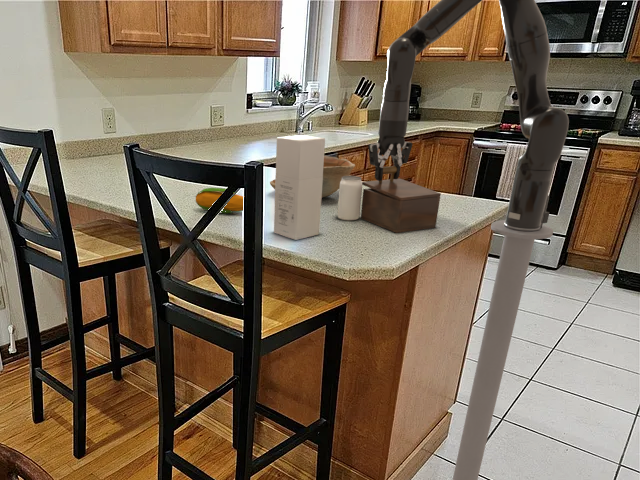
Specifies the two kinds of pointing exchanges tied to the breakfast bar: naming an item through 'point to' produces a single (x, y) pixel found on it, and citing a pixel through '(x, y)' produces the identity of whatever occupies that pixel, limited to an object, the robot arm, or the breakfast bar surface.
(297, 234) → the tall white carton
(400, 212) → the chest
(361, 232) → the breakfast bar surface
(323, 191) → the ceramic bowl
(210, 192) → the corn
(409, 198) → the chest lid
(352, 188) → the can
